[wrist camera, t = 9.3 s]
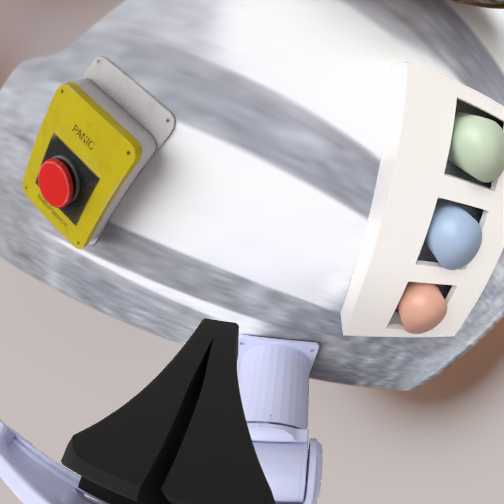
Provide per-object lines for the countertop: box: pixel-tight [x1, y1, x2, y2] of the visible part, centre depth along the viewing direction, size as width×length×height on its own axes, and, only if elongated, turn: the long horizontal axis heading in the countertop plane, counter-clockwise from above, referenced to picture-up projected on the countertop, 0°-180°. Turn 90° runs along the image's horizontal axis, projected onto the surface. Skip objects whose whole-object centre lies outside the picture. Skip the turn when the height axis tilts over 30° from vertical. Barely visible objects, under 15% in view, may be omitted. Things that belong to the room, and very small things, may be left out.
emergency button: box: [23, 56, 175, 249], centre depth 17 cm, size 9×4×15 cm
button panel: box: [340, 62, 504, 337], centre depth 16 cm, size 20×12×3 cm, turn 178°
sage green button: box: [448, 112, 504, 182], centre depth 12 cm, size 4×4×3 cm
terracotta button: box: [397, 282, 447, 334], centre depth 19 cm, size 4×4×3 cm
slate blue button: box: [424, 198, 482, 270], centre depth 15 cm, size 4×4×3 cm
